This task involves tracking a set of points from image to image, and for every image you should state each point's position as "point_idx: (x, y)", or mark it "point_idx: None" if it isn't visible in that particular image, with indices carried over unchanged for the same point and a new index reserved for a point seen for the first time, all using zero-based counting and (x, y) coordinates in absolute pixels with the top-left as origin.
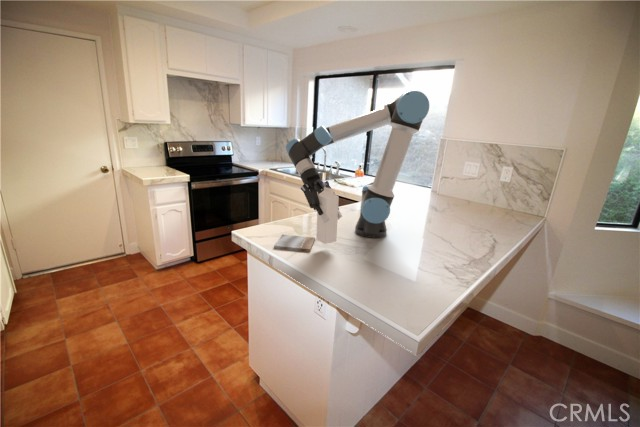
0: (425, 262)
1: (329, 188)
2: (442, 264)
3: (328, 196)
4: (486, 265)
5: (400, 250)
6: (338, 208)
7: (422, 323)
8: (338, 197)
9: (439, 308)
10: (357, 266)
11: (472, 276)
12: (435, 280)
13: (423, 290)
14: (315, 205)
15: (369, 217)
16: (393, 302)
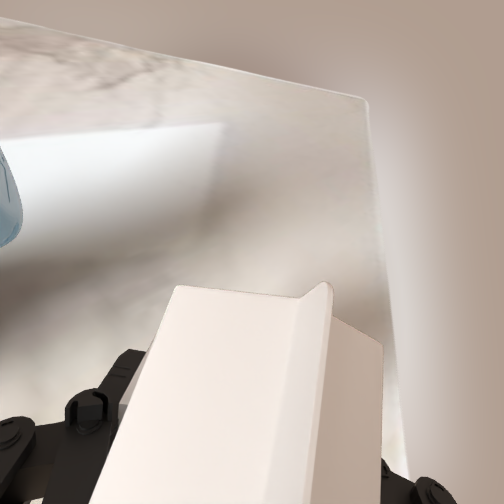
0: (103, 120)
1: (316, 444)
2: (90, 92)
3: (362, 346)
4: (36, 31)
5: (48, 183)
6: (127, 356)
7: (337, 98)
8: (183, 289)
9: (282, 86)
10: (251, 236)
11: (120, 52)
12: (190, 96)
13: (247, 107)
14: (402, 485)
15: (15, 203)
16: (324, 135)
